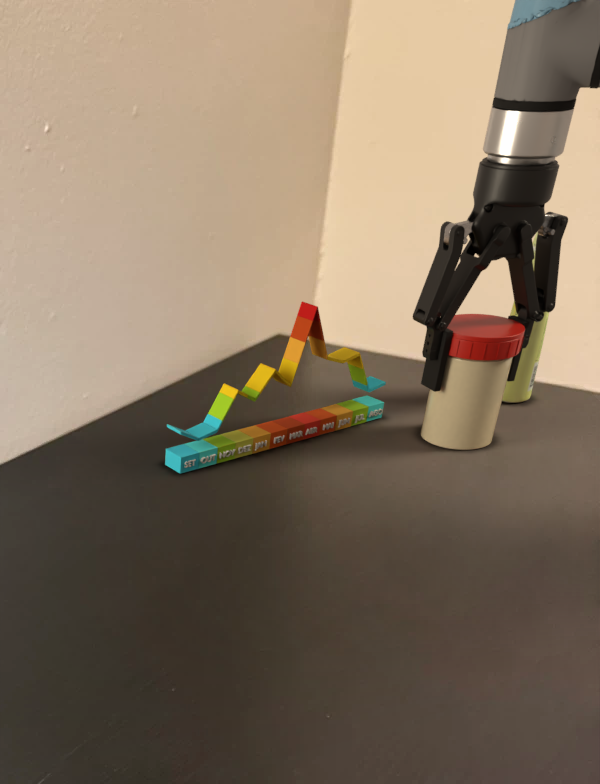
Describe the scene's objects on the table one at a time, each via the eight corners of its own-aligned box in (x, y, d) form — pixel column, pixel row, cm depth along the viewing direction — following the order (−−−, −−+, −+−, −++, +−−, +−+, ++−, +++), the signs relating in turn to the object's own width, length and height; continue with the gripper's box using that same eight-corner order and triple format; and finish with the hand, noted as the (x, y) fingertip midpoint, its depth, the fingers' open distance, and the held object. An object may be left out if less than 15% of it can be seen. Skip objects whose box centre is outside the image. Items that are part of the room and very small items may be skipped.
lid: (486, 331, 114) (491, 310, 112) (537, 355, 107) (543, 332, 106) (417, 340, 112) (421, 318, 111) (465, 364, 105) (470, 341, 104)
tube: (476, 395, 126) (515, 229, 114) (499, 386, 129) (540, 222, 117) (515, 407, 123) (560, 236, 111) (538, 397, 125) (585, 230, 113)
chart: (181, 474, 109) (188, 336, 100) (165, 464, 111) (170, 328, 102) (383, 418, 121) (406, 289, 112) (364, 410, 123) (385, 283, 114)
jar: (506, 444, 114) (534, 338, 106) (446, 454, 112) (470, 346, 105) (464, 420, 120) (488, 318, 112) (407, 429, 118) (427, 326, 111)
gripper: (586, 145, 103) (527, 361, 117) (404, 159, 99) (365, 382, 113) (638, 155, 97) (570, 381, 111) (447, 171, 93) (401, 405, 107)
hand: (467, 382), depth 112 cm, fingers closed on lid, 9 cm apart
